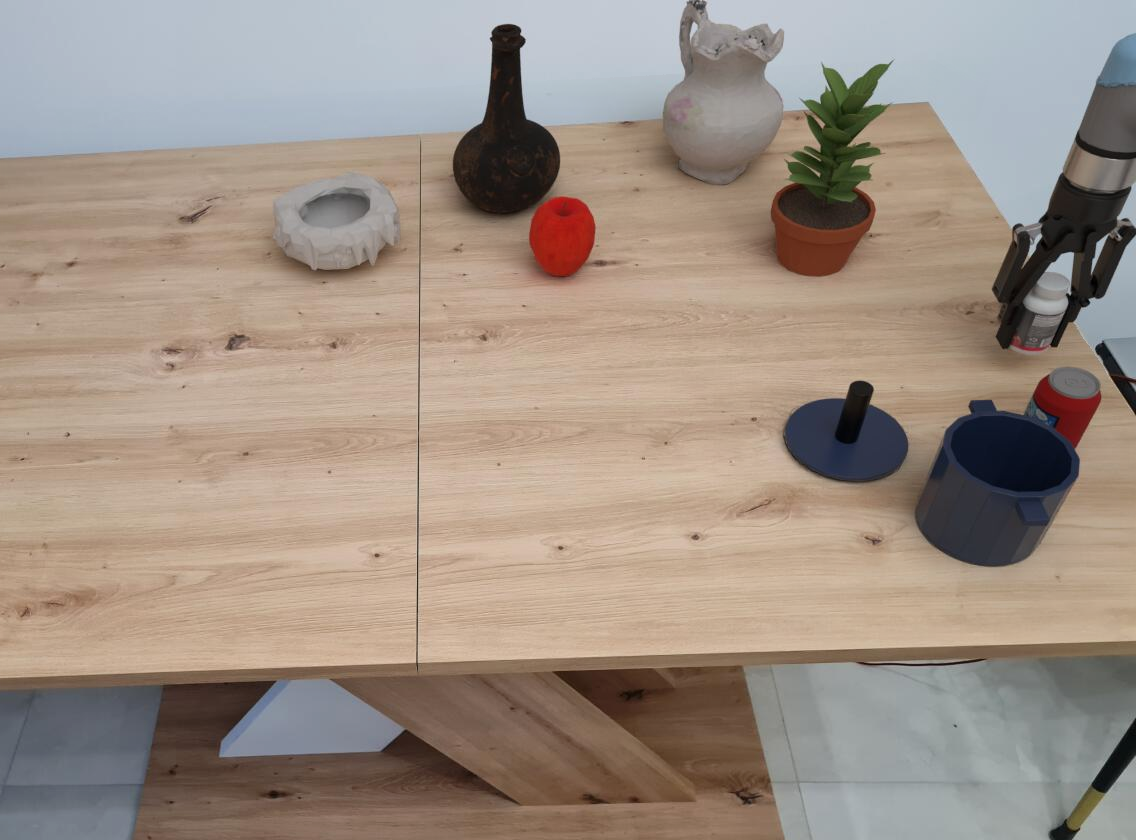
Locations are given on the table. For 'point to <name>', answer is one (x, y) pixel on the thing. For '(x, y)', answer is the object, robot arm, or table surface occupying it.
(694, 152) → the ceramic pitcher
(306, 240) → the bowl
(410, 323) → the table surface
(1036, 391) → the beverage can
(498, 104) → the glass bottle
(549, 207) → the apple
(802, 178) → the potted plant
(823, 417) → the lid
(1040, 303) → the pill bottle
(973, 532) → the pot
